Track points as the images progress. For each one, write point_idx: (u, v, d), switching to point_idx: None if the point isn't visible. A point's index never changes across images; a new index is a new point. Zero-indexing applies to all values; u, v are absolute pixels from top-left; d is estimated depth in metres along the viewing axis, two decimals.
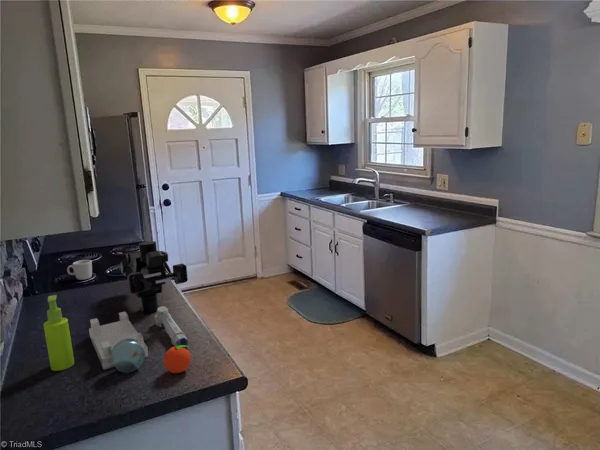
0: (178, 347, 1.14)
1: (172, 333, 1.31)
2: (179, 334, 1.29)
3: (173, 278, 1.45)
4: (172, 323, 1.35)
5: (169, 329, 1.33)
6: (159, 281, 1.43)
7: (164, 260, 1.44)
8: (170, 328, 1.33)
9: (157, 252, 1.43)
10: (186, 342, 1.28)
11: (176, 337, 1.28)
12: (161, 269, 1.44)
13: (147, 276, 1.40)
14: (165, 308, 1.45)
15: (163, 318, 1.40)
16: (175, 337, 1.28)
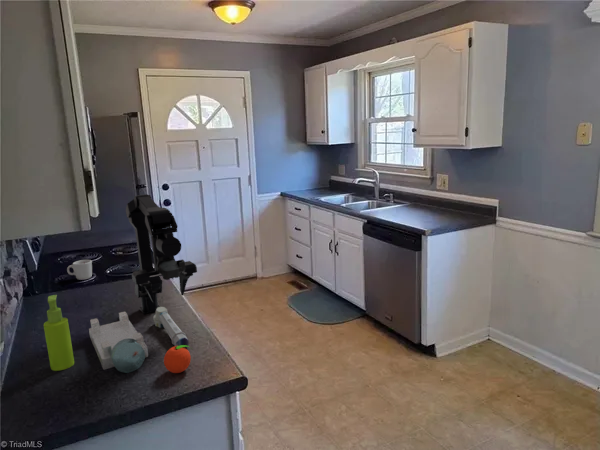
0: (178, 347, 1.14)
1: (172, 333, 1.30)
2: (179, 334, 1.29)
3: None
4: (172, 323, 1.35)
5: (169, 329, 1.33)
6: None
7: None
8: (170, 328, 1.33)
9: (175, 272, 1.28)
10: (186, 342, 1.28)
11: (176, 337, 1.28)
12: None
13: None
14: (164, 308, 1.45)
15: (162, 318, 1.39)
16: (175, 337, 1.28)
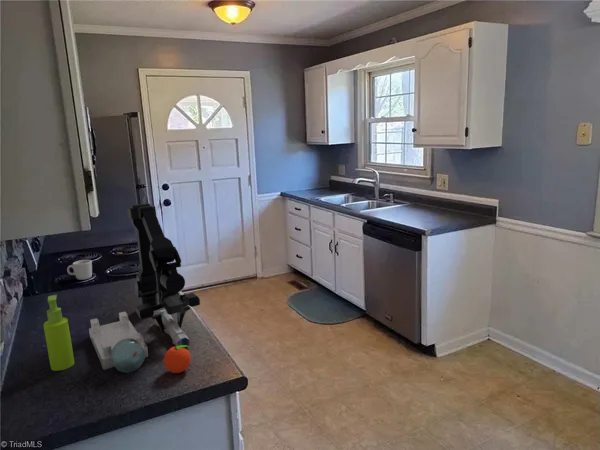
0: (178, 347, 1.14)
1: (173, 333, 1.30)
2: (180, 334, 1.29)
3: None
4: (173, 323, 1.35)
5: (170, 329, 1.33)
6: None
7: None
8: (171, 328, 1.33)
9: (179, 307, 1.30)
10: (187, 342, 1.28)
11: (177, 337, 1.28)
12: None
13: None
14: None
15: (163, 318, 1.39)
16: (176, 337, 1.28)
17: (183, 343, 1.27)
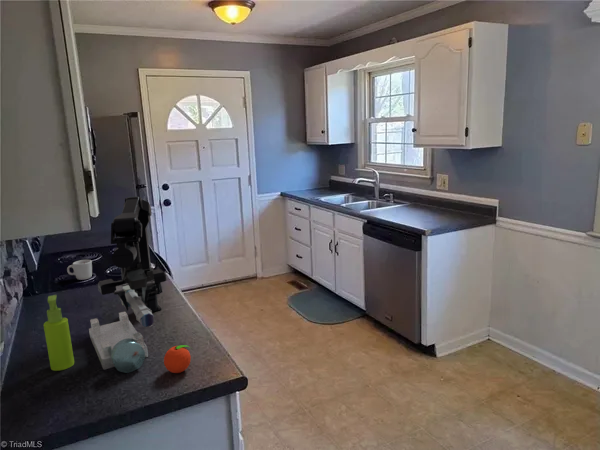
0: (178, 347, 1.14)
1: (137, 309, 1.24)
2: (144, 310, 1.23)
3: None
4: (137, 300, 1.29)
5: (134, 306, 1.27)
6: None
7: None
8: (135, 305, 1.27)
9: (143, 281, 1.24)
10: (152, 318, 1.22)
11: (141, 313, 1.22)
12: None
13: None
14: None
15: (128, 296, 1.33)
16: (140, 313, 1.22)
17: (147, 319, 1.21)
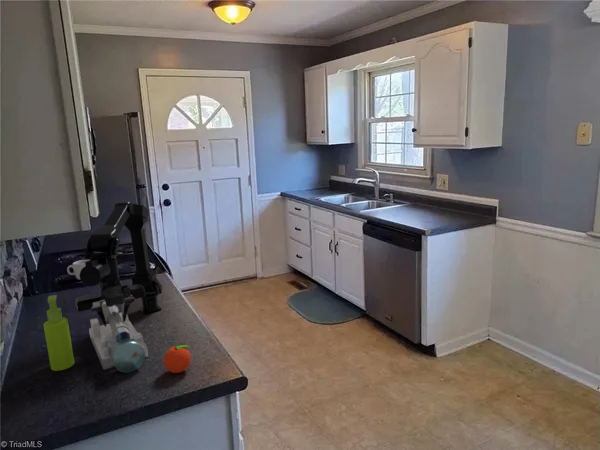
0: (178, 347, 1.14)
1: (113, 327, 1.22)
2: (120, 327, 1.21)
3: None
4: (115, 316, 1.27)
5: (111, 322, 1.25)
6: None
7: None
8: (112, 321, 1.25)
9: (119, 298, 1.22)
10: (127, 336, 1.20)
11: (117, 331, 1.20)
12: None
13: None
14: None
15: (107, 311, 1.31)
16: (116, 331, 1.20)
17: (122, 337, 1.19)
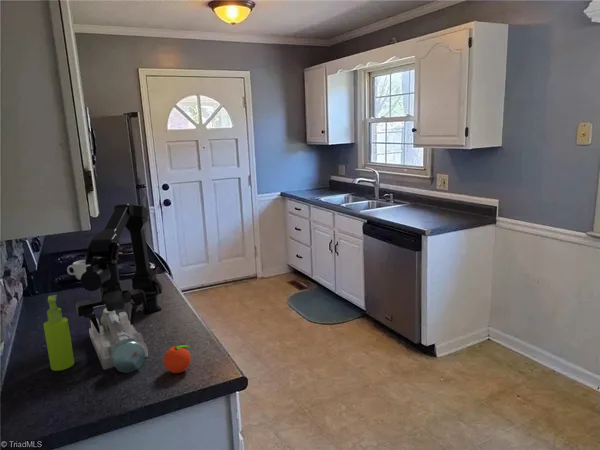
0: (178, 347, 1.14)
1: (115, 335, 1.23)
2: (122, 336, 1.21)
3: None
4: (116, 325, 1.28)
5: (112, 331, 1.25)
6: None
7: None
8: (113, 330, 1.25)
9: (120, 303, 1.22)
10: None
11: (118, 339, 1.20)
12: None
13: None
14: None
15: (108, 320, 1.32)
16: (117, 339, 1.21)
17: None
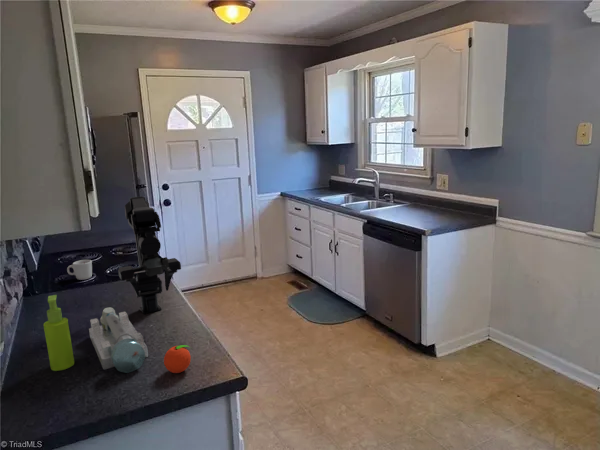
0: (178, 347, 1.14)
1: (117, 335, 1.23)
2: (124, 335, 1.22)
3: None
4: (118, 324, 1.28)
5: (114, 331, 1.26)
6: None
7: None
8: (115, 330, 1.26)
9: (158, 269, 1.34)
10: None
11: (121, 339, 1.21)
12: None
13: None
14: (111, 309, 1.37)
15: (109, 319, 1.32)
16: (120, 339, 1.21)
17: None
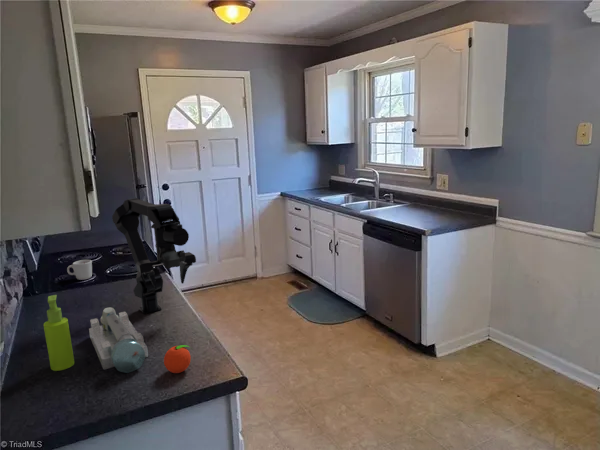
0: (178, 347, 1.14)
1: (118, 335, 1.23)
2: (126, 335, 1.22)
3: None
4: (119, 324, 1.28)
5: (115, 331, 1.26)
6: None
7: None
8: (116, 329, 1.26)
9: (176, 261, 1.40)
10: None
11: (123, 338, 1.21)
12: None
13: None
14: (112, 309, 1.37)
15: (109, 319, 1.32)
16: (122, 338, 1.21)
17: None
